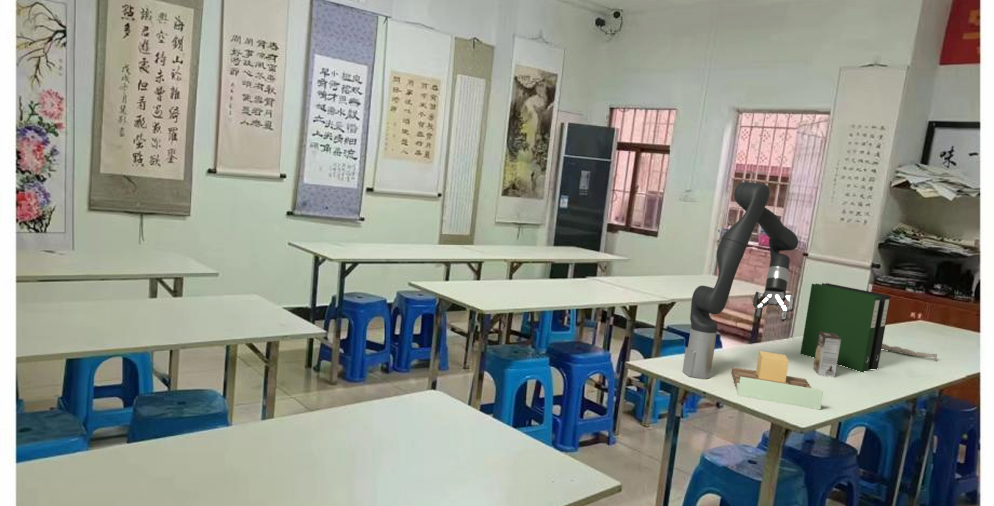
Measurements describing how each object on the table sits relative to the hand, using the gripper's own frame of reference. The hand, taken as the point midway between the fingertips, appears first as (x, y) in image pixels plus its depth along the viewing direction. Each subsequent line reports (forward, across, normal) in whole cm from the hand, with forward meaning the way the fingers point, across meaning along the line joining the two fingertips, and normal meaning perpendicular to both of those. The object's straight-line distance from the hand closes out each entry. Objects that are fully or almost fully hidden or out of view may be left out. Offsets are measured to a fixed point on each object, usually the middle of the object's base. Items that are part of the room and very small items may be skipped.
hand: (770, 319), depth 253 cm
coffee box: (+10, +16, +33) cm, 38 cm away
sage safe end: (+33, +9, -15) cm, 37 cm away
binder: (-2, +17, +58) cm, 61 cm away
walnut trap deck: (+28, +6, -7) cm, 30 cm away
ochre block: (+22, +3, -1) cm, 22 cm away
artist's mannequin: (-22, +37, +102) cm, 111 cm away
